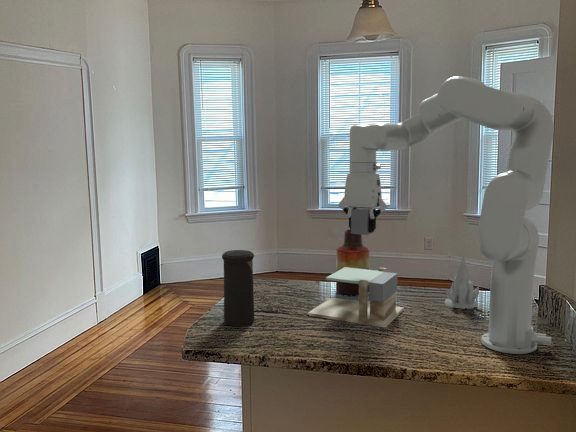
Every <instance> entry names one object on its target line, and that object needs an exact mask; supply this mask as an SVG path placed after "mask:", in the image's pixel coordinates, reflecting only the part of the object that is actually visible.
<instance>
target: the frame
mask: <svg viewBox="0 0 576 432" xmlns="http://www.w3.org/2000/svg"><path fill="white" fill-rule="evenodd" d="M387 269H388V268H387V267H378V270H377V271H381V272H388V271H387ZM368 301H369V302H368ZM404 310H405V308H404V306H397V291H396V292H394V293H393V294H392V295H391V296H390V297H388V298H387V299H386V300H385V301H384V302H379V301H371V300H369V293H368V280H360V281H359V296H358V300H352V299H346V298H339V297H330V298H328V299H327V300H325V301H323V302H322V303H321V304H319V305H317V306H315V307H314V308H313V309H311V310H310V311H308V312H307V316H308V315H309V316H310V317H315V318H322V319H328V320H334V321H341V322H348V323H352V324H358V325H364V326H366V325H367V326H372V327H379V328H387V327H388V326H389V325H390V324H391V323H392V322H393V321H395V319H396V318H397V317H398V316H400V314H401V313H403V311H404Z"/></svg>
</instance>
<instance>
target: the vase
mask: <svg viewBox="0 0 576 432" xmlns="http://www.w3.org/2000/svg"><path fill="white" fill-rule="evenodd" d="M335 251H336V253H335V255H336V257H335V258H336V259H335V263H336V265H335V268H336V270H335V272H337V271H339V270H340V269H342V268H344V267H349V268H358V269H367V270H370V263H371V262H370V259H371V258H370V256H371V254H370V251H371V250H370V248H369V247H368V246H366V245H364V244H363V235H362V234H351V231H350V229H345V230H344V237H343V244H341V245H339V246H337V248H336V250H335ZM335 291H336V293H337V294H338V295H341V296H343V297H345V296H346V297H359V284H356V283H347V282H339V281H335ZM368 294H369V285H368Z"/></svg>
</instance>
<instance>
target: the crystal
mask: <svg viewBox="0 0 576 432" xmlns="http://www.w3.org/2000/svg"><path fill="white" fill-rule="evenodd" d="M451 283H452V284H451V285H450V289H448V288H447V289H446V293H445V295H446V296H447V298H446V299H445V300H444V305H446V306H448V307H450V308H455V309H456V308H457V309H464V310H466V309H465V308H467V309H474V307H475V308H477V306H479V303H478V301H477V300H476V299H477V298H478V296H479V295H480V288H479V287H480V286H477V287H476V288H475V289H474V283H473V282H472V281H471V280H470V275H469V271H468V268H467V265H466V259H465V256H462V258H461V261H460V264H459V267H458V270H457V273H456V274H455V276H454V278H453V281H452V282H451Z"/></svg>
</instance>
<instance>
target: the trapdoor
mask: <svg viewBox="0 0 576 432" xmlns="http://www.w3.org/2000/svg"><path fill="white" fill-rule="evenodd" d="M325 280H326V281H332V282H336V281H339V282H347V283H356V284H359V281H360V280H368V285H369V293H368V301H370V300H371V301H379V302H384V301H385V300H386V299H387V298H388V297H390V296H391V295H392V294H393V293H394V292H396V293H397V292H398V273H397V272H389V271H387V272H381V271H378V270H373V269H369V270H367V269H358V268H349V267H344V268H342V269H340V270H339V271H337V272H336V271H335V272H334V273H331V274H330V275H328V276H326V277H325Z"/></svg>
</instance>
